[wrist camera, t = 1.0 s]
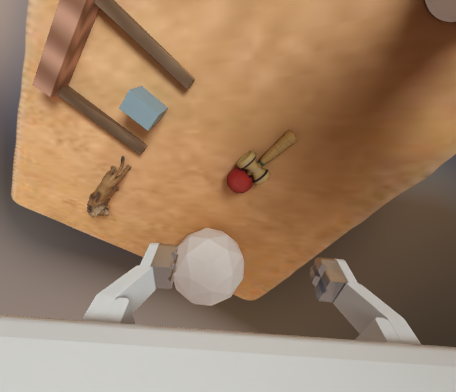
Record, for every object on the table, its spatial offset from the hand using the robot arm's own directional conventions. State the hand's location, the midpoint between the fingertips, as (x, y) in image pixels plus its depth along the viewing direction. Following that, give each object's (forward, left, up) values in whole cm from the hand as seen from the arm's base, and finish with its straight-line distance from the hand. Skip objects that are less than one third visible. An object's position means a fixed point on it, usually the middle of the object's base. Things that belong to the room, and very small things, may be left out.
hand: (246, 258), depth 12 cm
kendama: (+4, +10, -38) cm, 39 cm away
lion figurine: (+33, -12, -37) cm, 51 cm away
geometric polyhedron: (+32, +19, -37) cm, 53 cm away
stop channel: (+11, -21, -37) cm, 44 cm away
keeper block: (+11, -15, -37) cm, 42 cm away
